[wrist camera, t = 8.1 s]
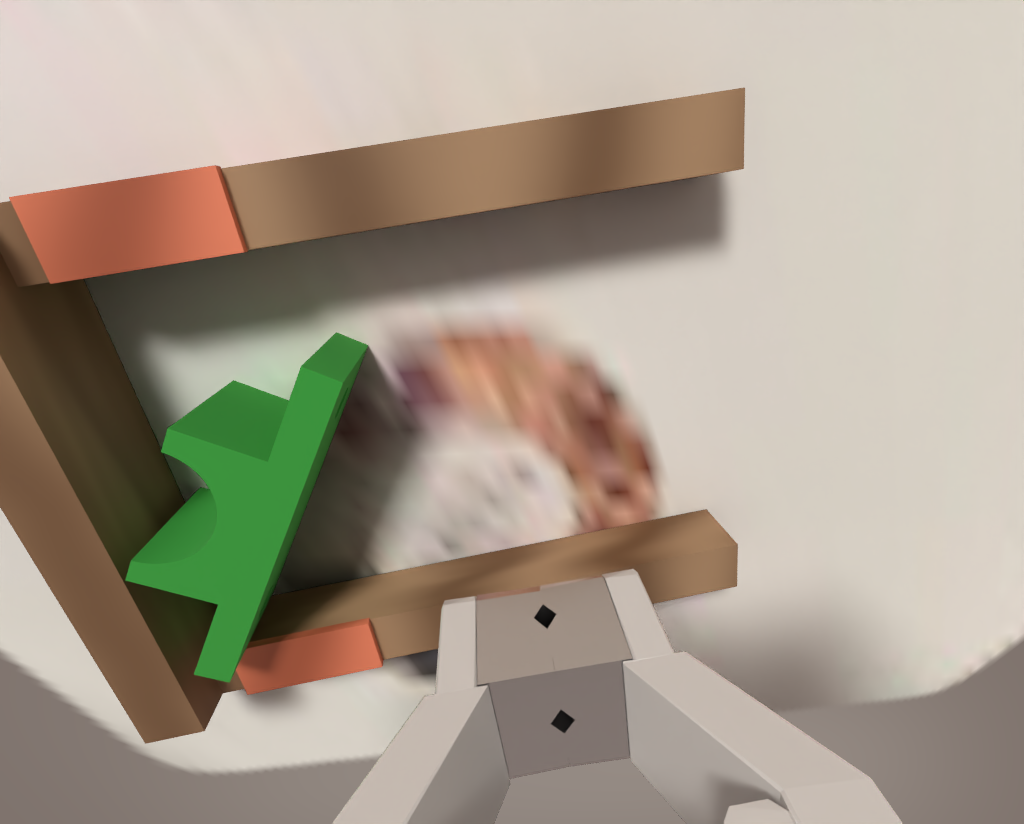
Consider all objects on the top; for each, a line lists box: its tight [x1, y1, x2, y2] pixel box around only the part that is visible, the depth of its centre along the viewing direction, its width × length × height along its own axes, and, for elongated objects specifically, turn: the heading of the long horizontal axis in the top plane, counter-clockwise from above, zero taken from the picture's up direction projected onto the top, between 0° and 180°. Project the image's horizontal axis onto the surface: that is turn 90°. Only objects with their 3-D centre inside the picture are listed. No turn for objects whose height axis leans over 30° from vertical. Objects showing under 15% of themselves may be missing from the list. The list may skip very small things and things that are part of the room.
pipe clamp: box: [125, 333, 368, 683], centre depth 16 cm, size 11×4×5 cm, turn 155°
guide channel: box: [0, 88, 745, 744], centre depth 17 cm, size 22×17×4 cm
